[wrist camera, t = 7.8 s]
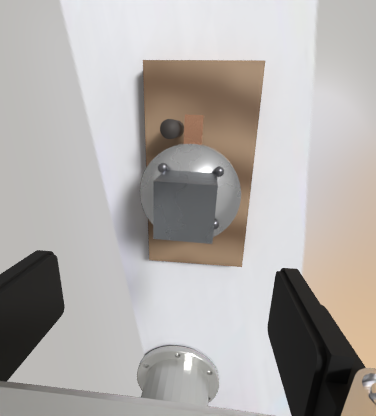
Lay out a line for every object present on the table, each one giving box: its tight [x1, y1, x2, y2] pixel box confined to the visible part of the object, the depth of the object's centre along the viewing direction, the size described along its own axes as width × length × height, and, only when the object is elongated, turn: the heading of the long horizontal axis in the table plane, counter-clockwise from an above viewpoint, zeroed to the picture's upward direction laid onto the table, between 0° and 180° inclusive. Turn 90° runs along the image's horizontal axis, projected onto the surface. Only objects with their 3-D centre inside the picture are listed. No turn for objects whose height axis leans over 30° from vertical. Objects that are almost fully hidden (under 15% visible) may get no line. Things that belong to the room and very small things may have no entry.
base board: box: [143, 60, 265, 267], centre depth 24 cm, size 21×11×6 cm, turn 179°
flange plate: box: [140, 114, 241, 244], centre depth 19 cm, size 11×9×6 cm
